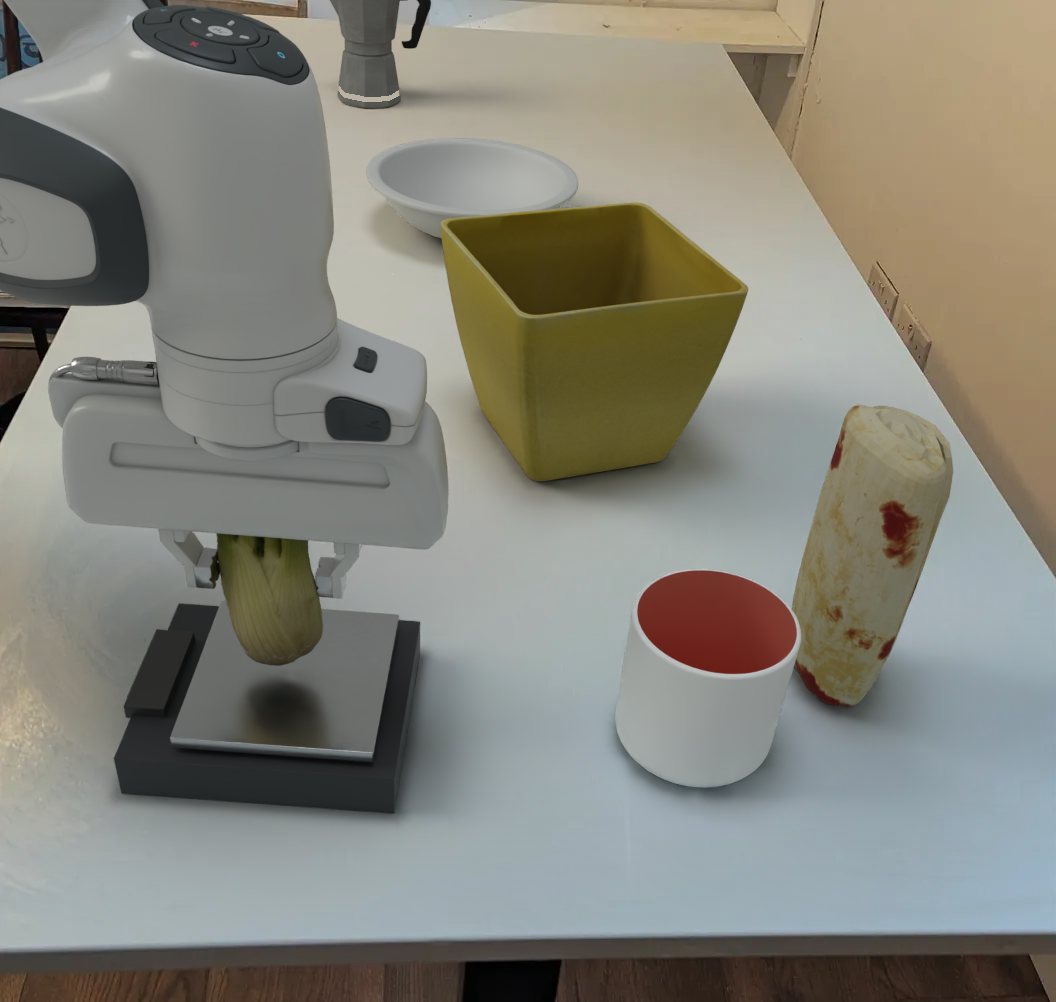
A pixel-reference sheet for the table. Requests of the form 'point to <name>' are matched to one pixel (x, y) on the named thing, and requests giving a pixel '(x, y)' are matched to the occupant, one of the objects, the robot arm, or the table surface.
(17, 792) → the table surface
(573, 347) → the flower pot
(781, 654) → the cup
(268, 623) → the fennel bulb
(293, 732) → the scale pan
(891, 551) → the food model
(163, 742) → the scale
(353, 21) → the coffeepot
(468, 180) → the soup bowl
